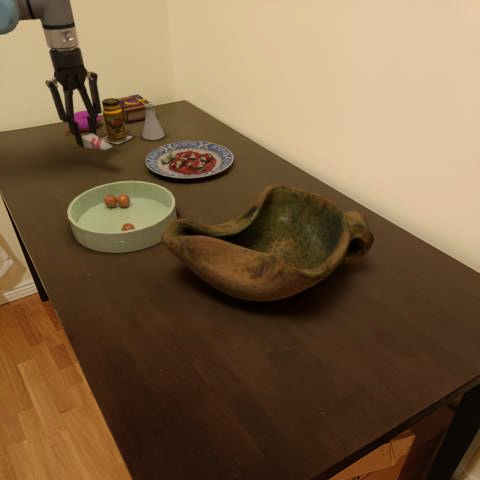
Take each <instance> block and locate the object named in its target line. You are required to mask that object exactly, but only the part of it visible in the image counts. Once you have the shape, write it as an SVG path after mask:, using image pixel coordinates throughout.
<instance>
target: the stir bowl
mask: <svg viewBox="0 0 480 480" xmlns="http://www.w3.org/2000/svg"><path fill="white" fill-rule="evenodd" d="M109 194H112V195H114V196H115V197H116V198H117V197H118V196H119V195H120V194H126V195H127V196H128V197H129V198H130V204H129V205H128V206H127V207H121V206H119V205H118V203H117V204H116V206H115V207H112V208H110V207H107V206H106V205H105V203H104V198H105V196H106V195H109ZM177 213H178V212H177V203H176V198H175V196H174V194H173V192H172V191H170V190H169V189H167V188H166V187H164V186H161V185H159V184H156V183H153V182H148V181H142V180H140V181H139V180H123V181H121V180H120V181H114V182H109V183H105V184H100V185H97V186H94V187H92V188H90V189H88V190H85V191H83V192H82V193H80V194H79V195H77V196H76V197H75V198H74V199H73V200H72V201H71V202H70V203H69V206H68V208H67V210H66V215H67V218H68V221H69V225H70V228H71V231H72V235H73V236H74V239H75V240H76V241H77V242H78V243H79V244H81V245H82V246H83V247H85V248H87V249H89V250H93V251H96V252H101V253H111V254H113V253H114V254H117V253H120V254H123V253H130V252H137V251H140V250H144V249H147V248H150V247H152V246H155V245H157V244H159V243H161V242H162V239H161V237H162V232H163V230H164V229H165V227H166V226H167V225H168V224H169V223H170V222H172V221H174V220H176V219H178V214H177ZM126 223H130V224H132V225H134V226H135V229H132V230H127V231H121V228H122V226H123V225H124V224H126Z"/></svg>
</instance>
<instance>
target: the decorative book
mask: <svg viewBox="0 0 480 480" xmlns="http://www.w3.org/2000/svg"><path fill="white" fill-rule="evenodd" d="M117 99H118V100H119V104H120V108H121V109H122V113H123V119H124V122H126V123H131V122H136V121H142V120H145V119H146V109H145V107H144V105H145V104H148V103H152V102H151V101H148V99H147V98H144V97H142V95H140V94H139V93H138V94H132V95H128V96H125V97H120V98H119V97H117Z"/></svg>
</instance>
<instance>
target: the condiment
mask: <svg viewBox="0 0 480 480" xmlns="http://www.w3.org/2000/svg"><path fill="white" fill-rule="evenodd" d="M101 105H102V115H103V120H104V126H105V129H106V134H107V135H105V136H103V137H100V138H101V139H102V140H104V141H105V142H107V143H111V144H114V145H115V144H116V145H120V144H122V143H124V142H126V141H128V140H130V139H131V138H133V135H127V131H126V124H125V121H124V119H123V113H122V109H121V108H120V104H119V100H118V98H116V97H115V98H114V97H109V98H105V99H103V100H102V101H101Z"/></svg>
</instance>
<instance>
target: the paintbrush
mask: <svg viewBox="0 0 480 480" xmlns="http://www.w3.org/2000/svg"><path fill="white" fill-rule="evenodd" d="M64 135H65V136H67V137H69V138H71V139H74V140H76V138H75V135H73V134H72V133H71V132H70V128H69V129H65V130H64ZM81 137H82V141H83V144H84V147H83V148H87V149H88V148H89V149H95V150H102V151H103V150H104V151H106V150H108V149H111V148H113V147H114V146H113V145H112V144H110V142H107V141H104V140H102V139H101V138H102V137H99V136H98V135H97V136H96V135H95V134H93V133H91V134H90V133H88V134H82V133H81Z"/></svg>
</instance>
